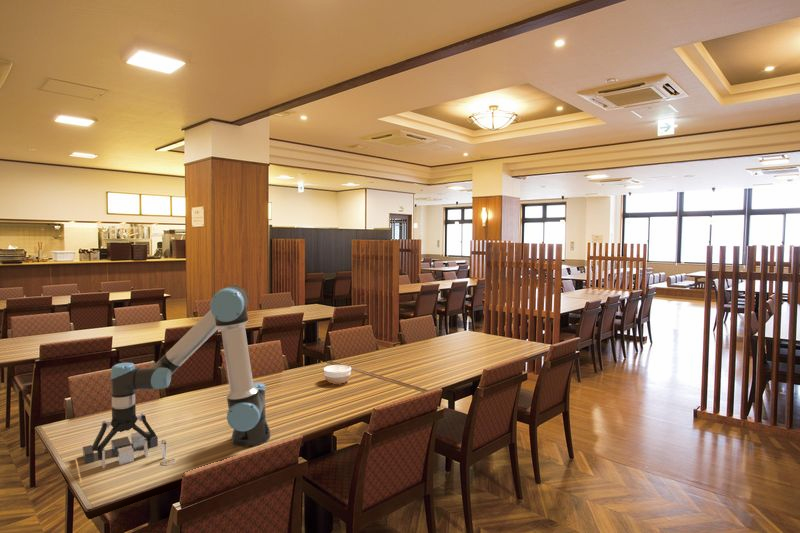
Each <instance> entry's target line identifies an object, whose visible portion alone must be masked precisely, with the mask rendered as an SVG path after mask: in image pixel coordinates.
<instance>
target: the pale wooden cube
mask: <svg viewBox="0 0 800 533" xmlns="http://www.w3.org/2000/svg"><path fill="white" fill-rule="evenodd" d="M117 450H118V456H117V461H118V464H119V466H121V465H126V464H128V463H133V462H134V460H135V458H134V457H135V456H134V455H135V454H134V452H133V448H132V446H127V447H123V448H119V449H117Z"/></svg>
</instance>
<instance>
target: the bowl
mask: <svg viewBox="0 0 800 533" xmlns="http://www.w3.org/2000/svg"><path fill="white" fill-rule="evenodd" d="M323 371H324V373H323V374H324V379H325V380H326V381H327V382H330V383H333V384H332V385H334V384H339V385H342V384H341V383H344V384H346V383H347V382H348V380H350V378H351V374H352V373H351V372H352V367H351V366H349V365H348V364H347V365H345V364H332V365H331V364H330V365H327V366H325V367H324V368H323ZM346 381H347V382H346ZM345 382H346V383H345ZM330 383H329V384H330Z"/></svg>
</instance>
